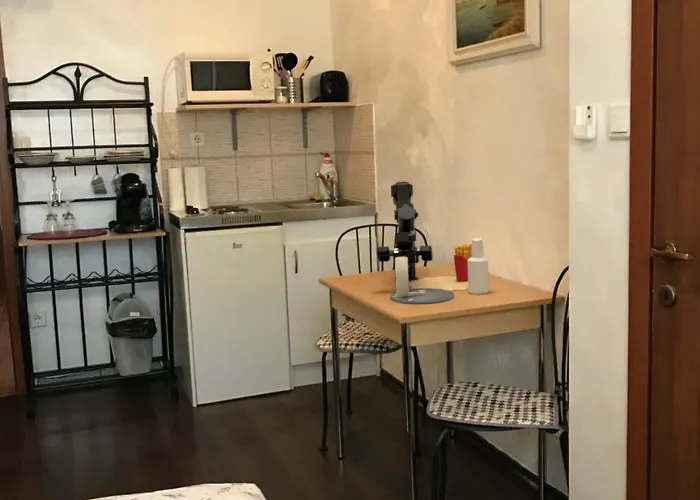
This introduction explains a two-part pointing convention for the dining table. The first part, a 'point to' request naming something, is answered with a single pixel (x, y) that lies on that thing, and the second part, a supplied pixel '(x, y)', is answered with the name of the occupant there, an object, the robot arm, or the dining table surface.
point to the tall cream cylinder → (402, 277)
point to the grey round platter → (424, 296)
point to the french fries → (462, 261)
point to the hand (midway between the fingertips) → (403, 274)
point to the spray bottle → (478, 269)
